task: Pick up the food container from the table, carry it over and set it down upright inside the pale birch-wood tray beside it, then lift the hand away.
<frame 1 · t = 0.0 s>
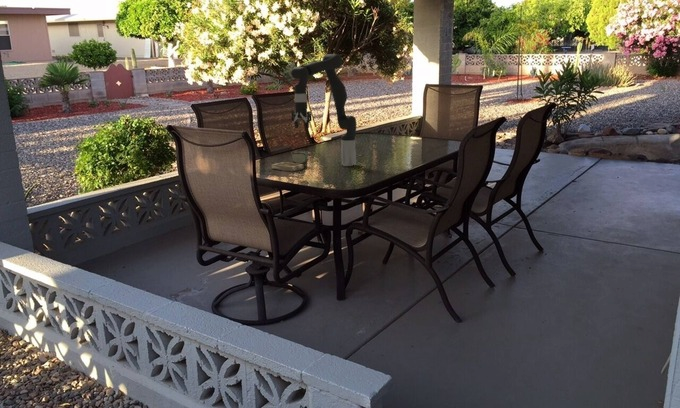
hand: (301, 128, 357), 29 cm above the table, tool pointing down, fingers open, 8 cm apart
tray: (287, 168, 388), on the table
food container: (301, 166, 399), on the table
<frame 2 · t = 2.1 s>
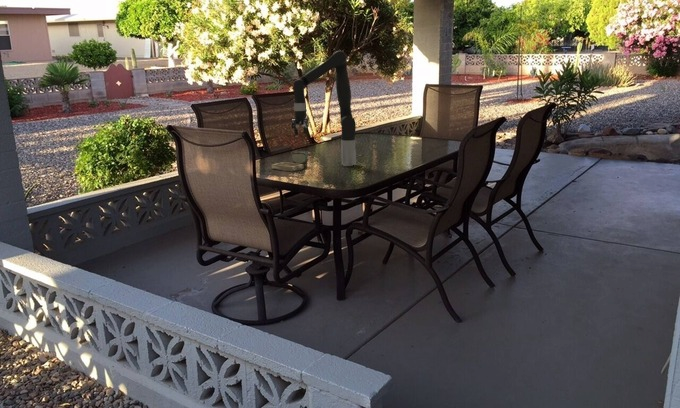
hand: (300, 134, 393), 21 cm above the table, tool pointing down, fingers open, 8 cm apart
nothing on the table moved.
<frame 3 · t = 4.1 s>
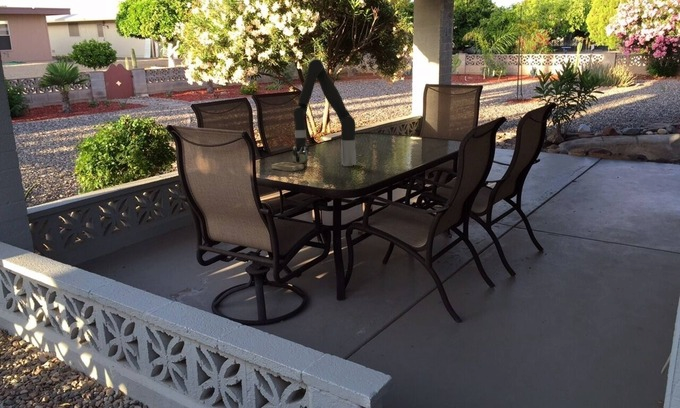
hand: (301, 161, 398), 3 cm above the table, tool pointing down, fingers closed on food container, 6 cm apart
food container: (301, 166, 399), on the table, touching gripper
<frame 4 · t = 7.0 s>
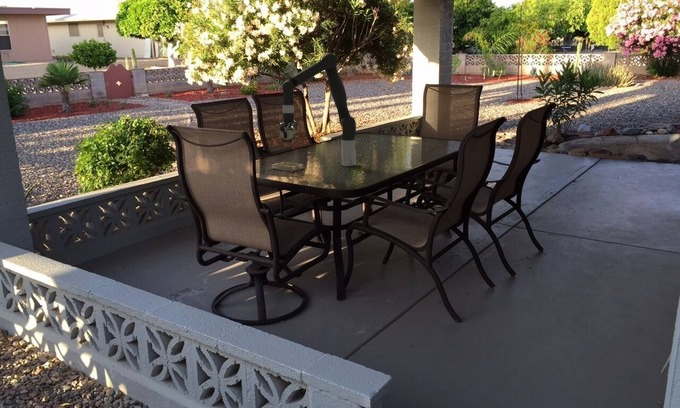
hand: (289, 137, 386), 20 cm above the table, tool pointing down, fingers closed on food container, 6 cm apart
food container: (289, 142, 387), point 17 cm above the table, touching gripper
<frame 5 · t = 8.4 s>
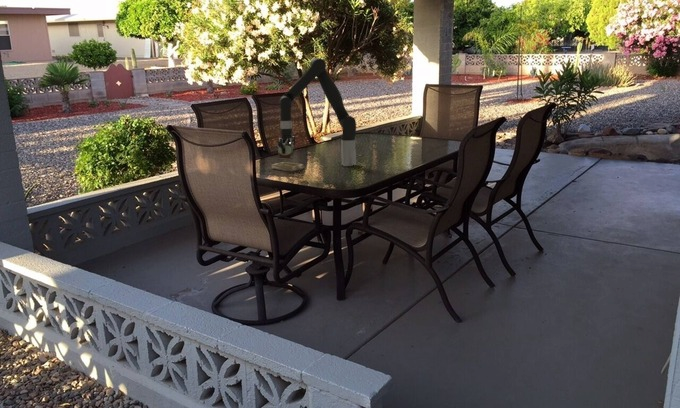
hand: (287, 153, 386), 10 cm above the table, tool pointing down, fingers closed on food container, 6 cm apart
food container: (287, 158, 387), point 7 cm above the table, touching gripper
when the fingers open (5 cm above the table, at t = 9.7 s): food container drops 1 cm, resting on tray.
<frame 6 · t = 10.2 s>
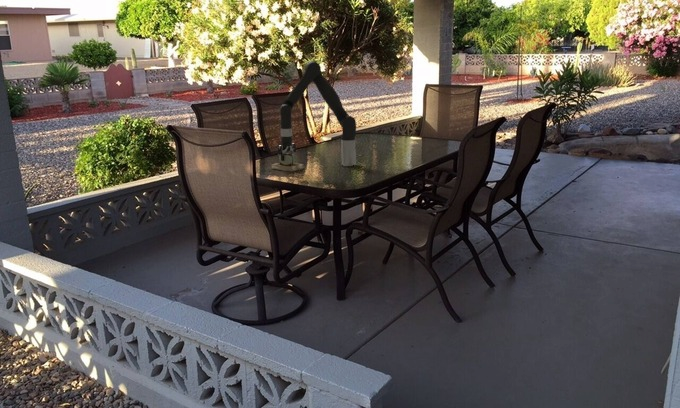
hand: (287, 160, 387), 6 cm above the table, tool pointing down, fingers open, 8 cm apart
food container: (288, 167, 389), point 1 cm above the table, touching tray
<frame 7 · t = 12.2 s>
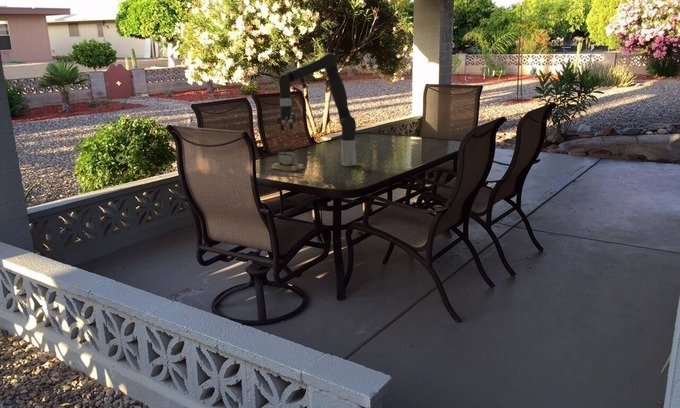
hand: (286, 129, 388), 25 cm above the table, tool pointing down, fingers open, 8 cm apart
nothing on the table moved.
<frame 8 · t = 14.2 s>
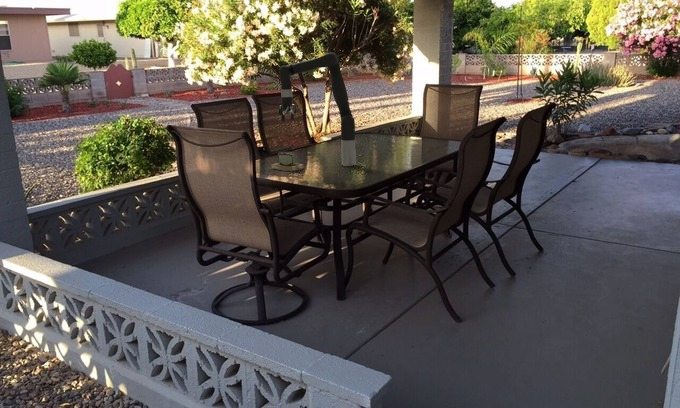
hand: (287, 120, 398), 30 cm above the table, tool pointing down, fingers open, 8 cm apart
nothing on the table moved.
at the end: food container 0.9 cm off-centre on the tray, point 0.6 cm above the tray's base; food container tilted 0°; the gripper is holding nothing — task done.
